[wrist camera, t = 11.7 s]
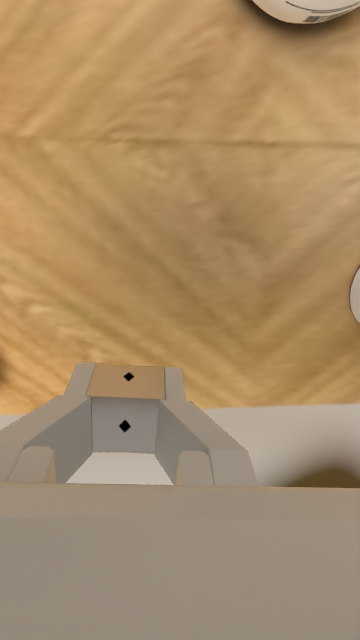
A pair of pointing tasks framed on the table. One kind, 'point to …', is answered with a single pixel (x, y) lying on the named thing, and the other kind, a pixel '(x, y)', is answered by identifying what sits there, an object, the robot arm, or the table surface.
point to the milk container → (306, 9)
